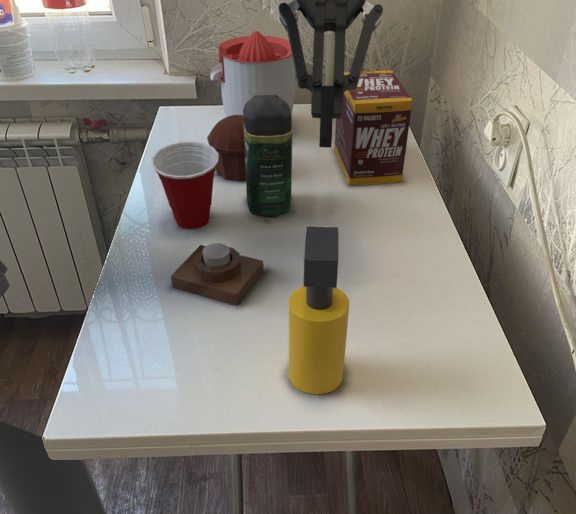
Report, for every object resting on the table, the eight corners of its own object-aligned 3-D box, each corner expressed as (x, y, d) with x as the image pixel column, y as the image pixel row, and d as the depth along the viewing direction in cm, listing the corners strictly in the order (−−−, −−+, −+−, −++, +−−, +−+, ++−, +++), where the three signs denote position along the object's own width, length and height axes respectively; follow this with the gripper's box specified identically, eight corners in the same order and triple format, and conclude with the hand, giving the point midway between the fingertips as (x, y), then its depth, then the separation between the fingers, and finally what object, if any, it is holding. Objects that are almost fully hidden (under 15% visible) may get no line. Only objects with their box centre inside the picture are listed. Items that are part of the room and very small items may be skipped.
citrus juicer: (211, 119, 137) (203, 21, 124) (288, 114, 140) (288, 17, 126) (218, 150, 126) (210, 46, 112) (302, 144, 129) (303, 41, 115)
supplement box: (348, 186, 116) (354, 103, 105) (333, 150, 127) (337, 71, 116) (402, 183, 116) (414, 100, 106) (383, 147, 128) (391, 68, 117)
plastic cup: (152, 236, 103) (141, 169, 95) (170, 203, 111) (161, 139, 103) (216, 241, 102) (210, 174, 94) (229, 207, 110) (225, 143, 102)
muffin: (258, 187, 115) (256, 136, 108) (202, 181, 117) (196, 129, 110) (274, 159, 123) (273, 109, 117) (221, 153, 125) (217, 104, 118)
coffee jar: (294, 218, 107) (295, 112, 94) (248, 221, 107) (243, 115, 94) (288, 191, 114) (288, 89, 101) (245, 193, 114) (240, 91, 101)
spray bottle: (290, 349, 83) (291, 222, 70) (342, 351, 83) (353, 224, 69) (287, 393, 77) (287, 264, 64) (343, 395, 77) (355, 266, 64)
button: (198, 264, 91) (197, 254, 90) (211, 250, 94) (210, 240, 93) (222, 270, 90) (221, 261, 89) (235, 256, 93) (234, 246, 92)
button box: (172, 287, 93) (168, 265, 90) (201, 256, 99) (199, 234, 96) (237, 306, 90) (236, 284, 87) (263, 272, 96) (263, 250, 93)
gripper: (382, -26, 80) (375, 155, 79) (281, -28, 80) (274, 152, 79) (389, -67, 72) (382, 132, 71) (278, -69, 73) (270, 130, 72)
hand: (325, 143), depth 75 cm, fingers closed
